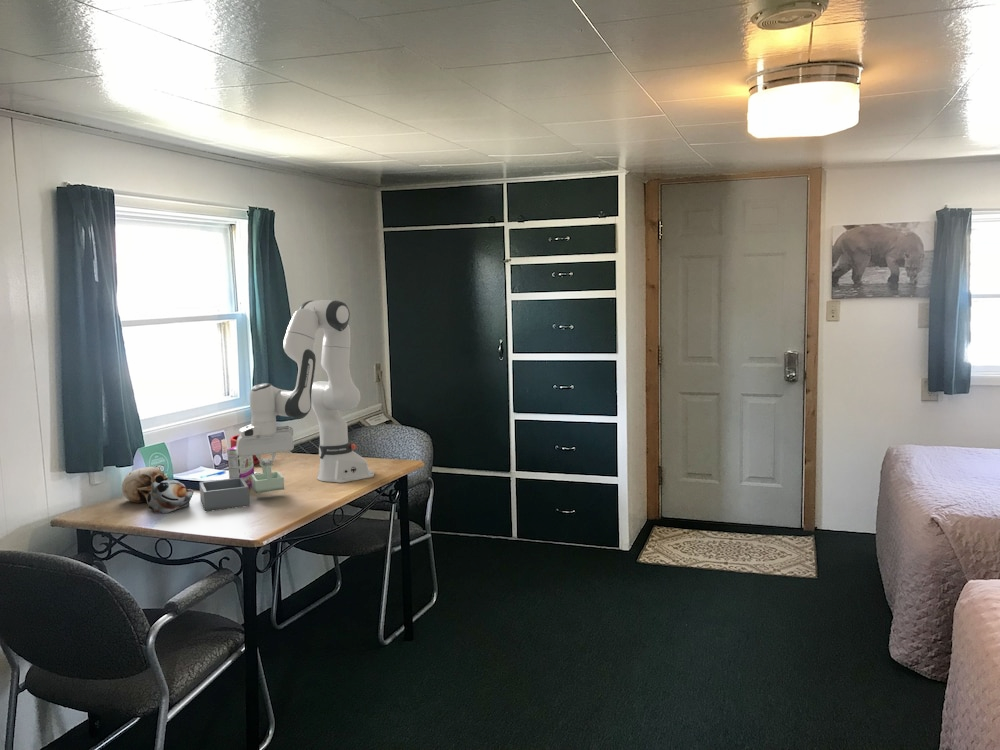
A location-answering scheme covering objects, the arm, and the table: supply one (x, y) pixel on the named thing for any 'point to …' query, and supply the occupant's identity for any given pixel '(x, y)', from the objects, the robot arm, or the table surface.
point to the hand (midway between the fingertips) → (266, 465)
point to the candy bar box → (240, 466)
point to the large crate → (224, 494)
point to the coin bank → (141, 483)
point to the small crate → (267, 479)
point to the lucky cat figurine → (168, 496)
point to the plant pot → (234, 443)
